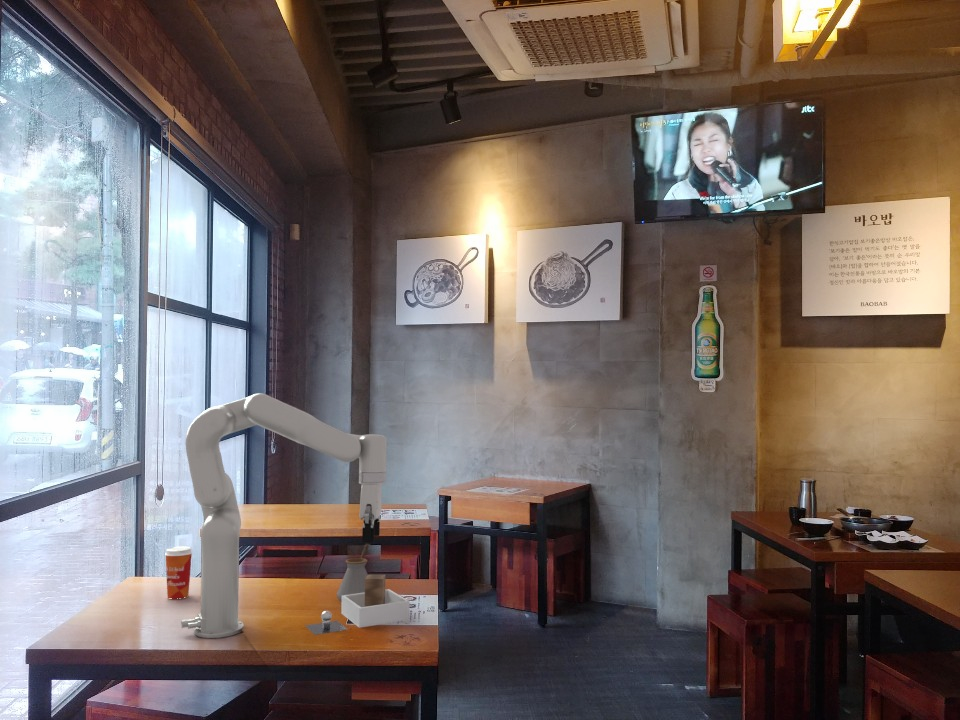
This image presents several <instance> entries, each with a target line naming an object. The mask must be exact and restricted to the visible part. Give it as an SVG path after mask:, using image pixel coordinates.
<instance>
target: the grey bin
mask: <svg viewBox="0 0 960 720" xmlns="http://www.w3.org/2000/svg"><path fill="white" fill-rule="evenodd" d="M340 602H341V611H340V612H341V613H340V614H341V615H342V616H344V617H345V618H346V619H348V621H350V622H351V623H353V624H354V625H356V626H357V627H358V628H366V627H371V626H372V627H373V626H378V625H384V624H391V623H397V622H403V623H404V624H410V600H408V599H406V598H405V597H403V596H401V595H400V594H398V593H396V592H395V591H393V590H391V589H390V588H388V589H386V588H385V604H381V605H374V606H367V607H365V593H357V594H350V595H343V596H342V598H341V601H340Z"/></svg>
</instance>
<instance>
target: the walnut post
mask: <svg viewBox="0 0 960 720" xmlns="http://www.w3.org/2000/svg"><path fill="white" fill-rule="evenodd" d="M385 590H386V574H368V575H367V577H366V578H365V607H367V606H374V605H381V604H385Z"/></svg>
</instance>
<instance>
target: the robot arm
mask: <svg viewBox="0 0 960 720" xmlns="http://www.w3.org/2000/svg"><path fill="white" fill-rule="evenodd" d="M255 426H259V427H261V428H262V429H265V430H268V431H270V432H273V433H275V434H277V435H280V436H282V437H284V438H286V439H288V440H291V441H293V442H295V443H297V444H299V445H303V446H306V447H309V448H311V449H313V450H315V451H318V452H320V453H321V454H325V455H327V456H328V457H329V456H330V457H331V458H333V459H336V460H337V461H340V462H342V463H343V462H344V463H350V462H353V461H355V460H357V459H359V463H358V464H359V465H358V468H359V469H358V484H359V485H361V490H360V499H359V512H358V513H359V514H358V515H359V516H358V517H359V520H361V521H362V520H363V523H362V530H361V533H362V535H361V536H362V539H361V542H362V543H365V544H369V543H371V544H372V543H374V542H375V537H379V536H380V533H381V532H380V531H381V529H380V527H381V525H380V524H381V522H380V516H381V514H382V498H383V497H382V494H383V493H382V490H383V488H382V485H384V484H386V478H387V477H386V476H387V475H386V473H387V472H386V471H387V465H386V464H387V437H386V436H385V435H383V434H377V433H376V434H373V433H369V434H362V435H361V434H353V433H347V432H345V431H342V430H340V429H338V428H335V427H333V426H332V425H329V424H327V423H324V422H323V421H321V420H319V419H318V418H316V417H315V416H313V415H312V414H310V413H308V412H306V411H304V410H301V409H300V408H298V407H295V406H293V405H290V404H289V403H286V402H283V401H281V400H279V399H276V398H275V397H272V396H270V395H268V394H265V393H262V392H261V393H260V392H258V393H254V394H252V395H249V396H247V397H243V398H240V399H237V400H235V401H231V402H228V403H224V404H221V405H217V406H212V407H209V408H207V409H206V410H204V411H203V412H201V413H200V414H199V415H198V416H197V417H196V418H195V419H194V420H193V421H192V422H191V424H190V425H189V427H188V430H187V431H186V436H185V453H186V457H187V462H188V469H189V474H190V477H191V483H192V488H193V495H194V498H195V500H196V502H197V503H198V504H199V506H200V507H201V512H202V515H203V516H202V517H203V520H204V522H203V524H202V527H201V532H200V551H201V552H200V553H201V554H200V556H201V557H200V558H201V560H200V563H201V565H200V566H201V567H200V575H201V579H200V612H199V613H197V616H195V617H194V618H191V619H181V621H180V623H181V624H180V625H181V628H182V629H184V628H187V629H188V630H189V629H193V634H194V635H195V636H196V637H199V638H203V639H217V638H218V639H221V638H227V637H231V636H234V635H236V634H239V633H241V632H242V631H243V628H244V627H245V625H244V623H243V622H242V621H240V620H239V583H240V582H239V577H240V576H239V574H240V570H239V569H240V565H239V564H240V563H239V562H240V561H239V560H240V557H239V556H240V554H239V553H240V532H241V526H242V519H241V515H240V510H239V504H238V500H237V496H236V493H235V488H234V483H233V481H232V478H231V477H230V476H229V474H227V472H226V471H225V467H224V463H223V462H224V461H223V458H222V453H221V450H220V449H221V448H220V442H221V439H222V438H223V437H224V436H225V437H226V436H227V435H230V434H232V433H236V432H239V431H243V430H245V429H248V428H252V427H255Z"/></svg>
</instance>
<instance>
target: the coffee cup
mask: <svg viewBox="0 0 960 720" xmlns="http://www.w3.org/2000/svg"><path fill="white" fill-rule="evenodd" d="M193 553H194V552H193V550H192V547H190V546H185V545H184V546H173V547H169V548H166V550H165V553H164V556H165V569H166V571H165V572H166V591H167V592H166V594H167V599H168V598H172V599H177V598H178V600H180V599H179V598H184V597H187V596H188V597H189V591H190V580H191V567H192V555H193ZM188 597H187V598H188ZM184 599H185V598H184Z"/></svg>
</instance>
